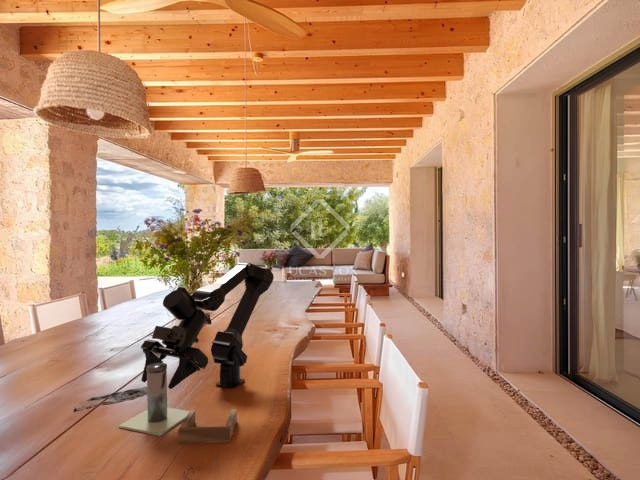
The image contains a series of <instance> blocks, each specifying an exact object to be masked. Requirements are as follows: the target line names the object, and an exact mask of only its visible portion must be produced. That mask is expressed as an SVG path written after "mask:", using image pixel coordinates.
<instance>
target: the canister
mask: <svg viewBox="0 0 640 480" xmlns="http://www.w3.org/2000/svg"><path fill="white" fill-rule="evenodd" d="M167 364H168V363H165V362H163V363H154V364H150V365H148V366H147V367H146V371H147V381H146V387H147V395H146V396H147V397H146V398H147V409H148V421H149V422H151V423H157V422H161V421H164V420H166V419H167V407H168V379H167V378H168V377H167V376H168V373H167V371H168V370H167V369H168V365H167Z"/></svg>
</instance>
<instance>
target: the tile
mask: <svg viewBox="0 0 640 480" xmlns="http://www.w3.org/2000/svg"><path fill="white" fill-rule="evenodd" d="M189 411H190V410H185V409H178V408H173V407H169V406H167V419H166V420H164V421H161V422H157V423H151V422H149V421H148V408H146V409H145V410H143V411H142V412H140V413H139V414H136V415H134V416H133V417H131V418H129V419H127V421H124V422H123V423H120V424H119V425H118V427H119V428H120V429H124V430H129V431H132V432H133V431H134V432H140V433H142V434H144V433H145V434H148V435H149V434H150V435H153V436H158V437H162V436H163V435H165V434H166V433H167V432H168V431H170V430H171V429H173V428H174V427H176V426H178V425H179V424H181V423H183V421H184V419H185V418H186V416H187V414H188V413H189Z"/></svg>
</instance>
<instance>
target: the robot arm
mask: <svg viewBox="0 0 640 480" xmlns="http://www.w3.org/2000/svg"><path fill="white" fill-rule="evenodd" d="M273 281H274V273H273V272H272V270H271V269H270V268H265V267H260V266H258V265H255V264H253V263H251V262H238V263H237V264H236V265H235V267H233V268H232V269H230V270H229V271H228V272H227V273H225V274H224V275H223V276H221V277H220V278H219V279H218V280H216V281H215V282H213V283H211V284H208V285H203V286H201V287H199V288H197V289H195V291H194V292H192V293H191V294H190V293H189V292H188V290H187V289H186V287H185V286H178V287H177V288H176V289H175V290H173V291H171V292H169V293H168V294H167V295H165V297H163V301H162V306H163V307H164V308H165V309H166V310H167V312H169V313H170V314H171V315H172V316H173V317H174V318H175V319H176V320H178V321H180V322H179V324H178V325H173V326H172V327H166V326H161V325H155V327H154V330H153V334H152V336H151V339H145V340H144V341H143V343H142V345H141V346H140V348H141V349H142V352H143V354H144V355H145V361H144V362H145V363H144V367H143V371H142V372H143V373H142V376H141V382H143V383H147V371H146V367H147V366H148V365H150V364H154V363H164V361H163V360H164V359H166V357H172V358H178V366H177V368H176V370H175V372H174V373H173V376H172V377H171V379H170V381H169V384H168V385H167V389H169V390H172V389H174V388H175V387H176V386H177V385H179V384H180V383H181V382H183V381H184V380H186V379H188V378H189V377H190V376H191V375H193V374H195V373H196V372H200V371H201V369H203V370H205V369H206V367H207V366H208V364H209V357H208V356H207V355H206V354H205V353H204V352H203V351H202V350H201V349H200V348H199V347H198V348H196V347H193V344H198V342H200V339H199V338H198V336H199V334H200V333H201V331H202V329H203V327H204V325H212V319H211V314H209V313H205V311H208V312H216V311H217V310H218V309H220V307H221V306H222V305H223V304H224V303H225V299H226V297H227V295H228V294H229V293H230V292H232V291H233V290H234V289H235V288H236V287H237V286H239V285H240V284H241V283H242V282H244V285H245V290H244V292H243V294H242V296H241V299H240V300H239V303H238V305H237V307H236V309H235V311H234V313H233V314H232V315H233V316H232V317H231V319H230V321H229V324H228V326H227V327H226V329H225V330H223V331H221V330H218V331H217V332H216V334H215V337H214V339H213V340H212V341H211V344H212V345H211V346H210V353H211V356H212V358H213V359H212V360H213V363H214V364H219V365H220V366H219V381H218V382H216V383H215V386H217V387H224V388H231V389H235V388H237V387H238V386H240V385H241V384H242V383H244V382H246V379H245V378H241V367H243V366H245V364H247V362H248V361H247V360H248V355H247V354H246V353H245V352H244V351H243V346H244V345H243V344H244V343H243V342H244V341H243V334H244V331H245V330H246V328H247V325H248V323H249V321H250V318H251V316H252V314H253V311H254V310H255V307H256V305H257V303H258V301H259V298H260V296H261V295H263V294H264V293H265V292H267V291H268V290H269V288H270V286H271V285H272V283H273ZM158 340H161V342H160V341H158ZM164 345H165V346H164Z"/></svg>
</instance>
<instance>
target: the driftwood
mask: <svg viewBox="0 0 640 480" xmlns="http://www.w3.org/2000/svg"><path fill="white" fill-rule="evenodd" d="M145 396H147V386H143V387H138V388H130V389H126V390H124V391H114V392H111V393H108V394H105V395H100V396H94V397H93V396H92V397H90V398H88V399H87V400H86V402H93V401H102V400H109V401H104V402H102V403H100V404H99V405H98V404H90V405H87V406H81V407H79V408H78V407H76V406H75V407H73V409H74V410H76V411H79V410H80V411H81V410H85V409H89V408H95V407H99V406H104V405H108V404H114V403H119V402H125V401H130V400H134V399H138V398H141V397H145ZM79 404H82V402H79Z"/></svg>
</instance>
